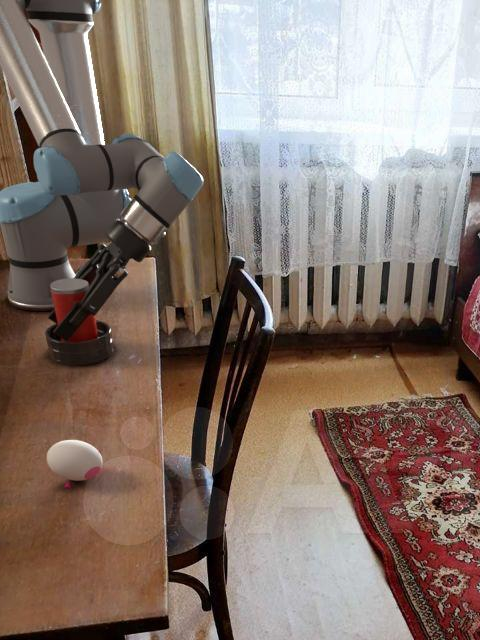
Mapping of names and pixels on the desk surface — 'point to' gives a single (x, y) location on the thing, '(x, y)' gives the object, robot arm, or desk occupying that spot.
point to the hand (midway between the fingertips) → (57, 328)
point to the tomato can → (63, 302)
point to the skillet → (81, 347)
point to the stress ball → (74, 460)
